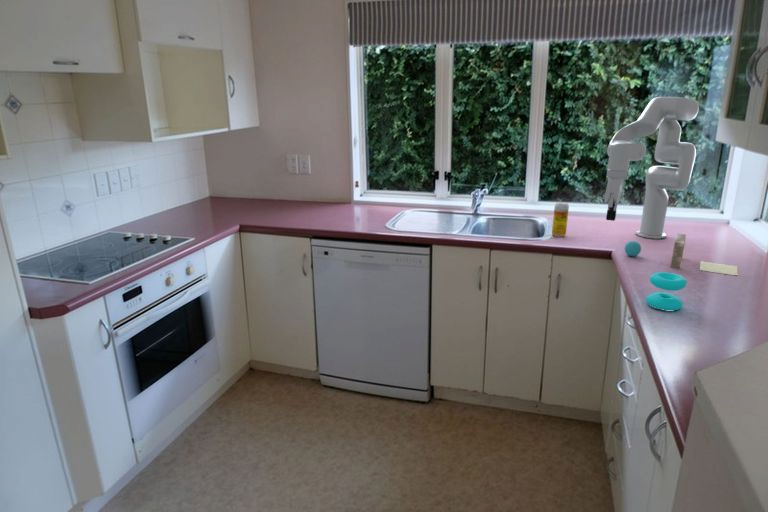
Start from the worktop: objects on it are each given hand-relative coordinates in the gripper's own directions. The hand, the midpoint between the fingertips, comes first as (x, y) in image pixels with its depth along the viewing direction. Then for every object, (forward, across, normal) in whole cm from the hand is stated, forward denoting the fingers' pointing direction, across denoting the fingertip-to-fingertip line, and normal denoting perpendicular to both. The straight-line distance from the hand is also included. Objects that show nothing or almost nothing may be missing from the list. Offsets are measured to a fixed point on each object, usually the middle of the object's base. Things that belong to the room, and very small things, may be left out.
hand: (610, 219), depth 214 cm
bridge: (+14, -1, +26) cm, 29 cm away
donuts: (+15, +50, +26) cm, 58 cm away
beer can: (+14, -17, -23) cm, 32 cm away
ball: (+11, -1, +10) cm, 14 cm away
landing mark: (+13, -1, +40) cm, 42 cm away
